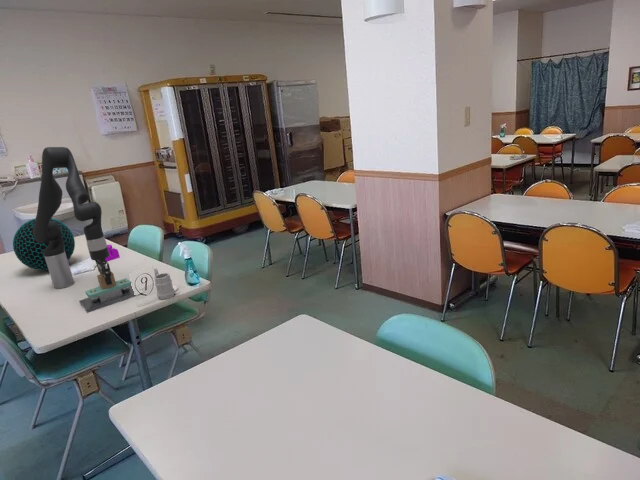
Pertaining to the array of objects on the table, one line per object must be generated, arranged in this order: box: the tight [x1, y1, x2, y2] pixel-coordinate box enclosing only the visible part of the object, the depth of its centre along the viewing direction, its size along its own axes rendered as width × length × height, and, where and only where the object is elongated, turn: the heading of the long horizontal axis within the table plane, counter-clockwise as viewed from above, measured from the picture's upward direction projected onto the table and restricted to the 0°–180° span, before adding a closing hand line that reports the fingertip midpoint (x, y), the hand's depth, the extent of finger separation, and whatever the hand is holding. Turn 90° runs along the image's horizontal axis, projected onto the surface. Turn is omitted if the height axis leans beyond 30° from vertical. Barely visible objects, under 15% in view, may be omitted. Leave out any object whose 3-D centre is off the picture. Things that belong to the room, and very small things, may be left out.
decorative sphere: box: [12, 217, 76, 271], centre depth 256 cm, size 30×30×30 cm
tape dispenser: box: [105, 244, 120, 263], centre depth 268 cm, size 16×10×6 cm, turn 46°
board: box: [85, 271, 132, 299], centre depth 202 cm, size 18×8×8 cm, turn 129°
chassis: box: [78, 280, 136, 313], centre depth 204 cm, size 14×24×6 cm, turn 129°
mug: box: [153, 267, 176, 300], centre depth 200 cm, size 8×12×12 cm, turn 43°
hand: (107, 282), depth 202 cm, fingers open, 6 cm apart
